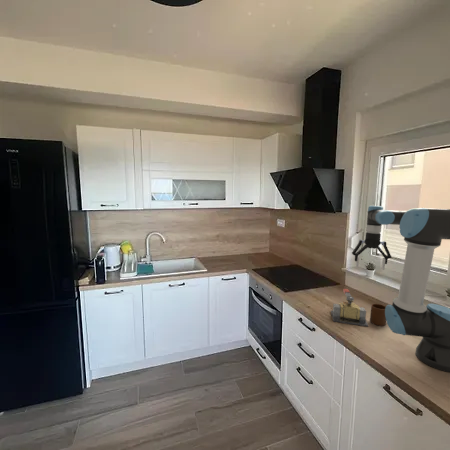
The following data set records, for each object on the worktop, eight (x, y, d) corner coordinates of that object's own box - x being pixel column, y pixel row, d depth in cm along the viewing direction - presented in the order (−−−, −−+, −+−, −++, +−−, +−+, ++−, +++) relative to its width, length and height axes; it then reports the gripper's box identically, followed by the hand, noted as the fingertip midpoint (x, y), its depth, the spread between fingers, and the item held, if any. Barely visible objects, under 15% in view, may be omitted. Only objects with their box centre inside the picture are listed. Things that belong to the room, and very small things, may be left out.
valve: (367, 326, 136) (369, 307, 134) (333, 321, 140) (335, 303, 139) (362, 316, 147) (364, 299, 146) (330, 311, 152) (332, 295, 150)
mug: (381, 317, 147) (383, 301, 146) (394, 323, 140) (396, 307, 139) (366, 320, 142) (368, 304, 141) (379, 327, 135) (381, 310, 134)
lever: (354, 302, 140) (354, 299, 140) (347, 301, 141) (347, 298, 141) (348, 291, 155) (349, 289, 155) (342, 291, 156) (342, 288, 156)
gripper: (395, 233, 148) (392, 268, 151) (348, 230, 156) (345, 264, 158) (400, 234, 141) (396, 272, 144) (350, 231, 149) (347, 267, 151)
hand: (369, 268), depth 151 cm, fingers open, 13 cm apart
